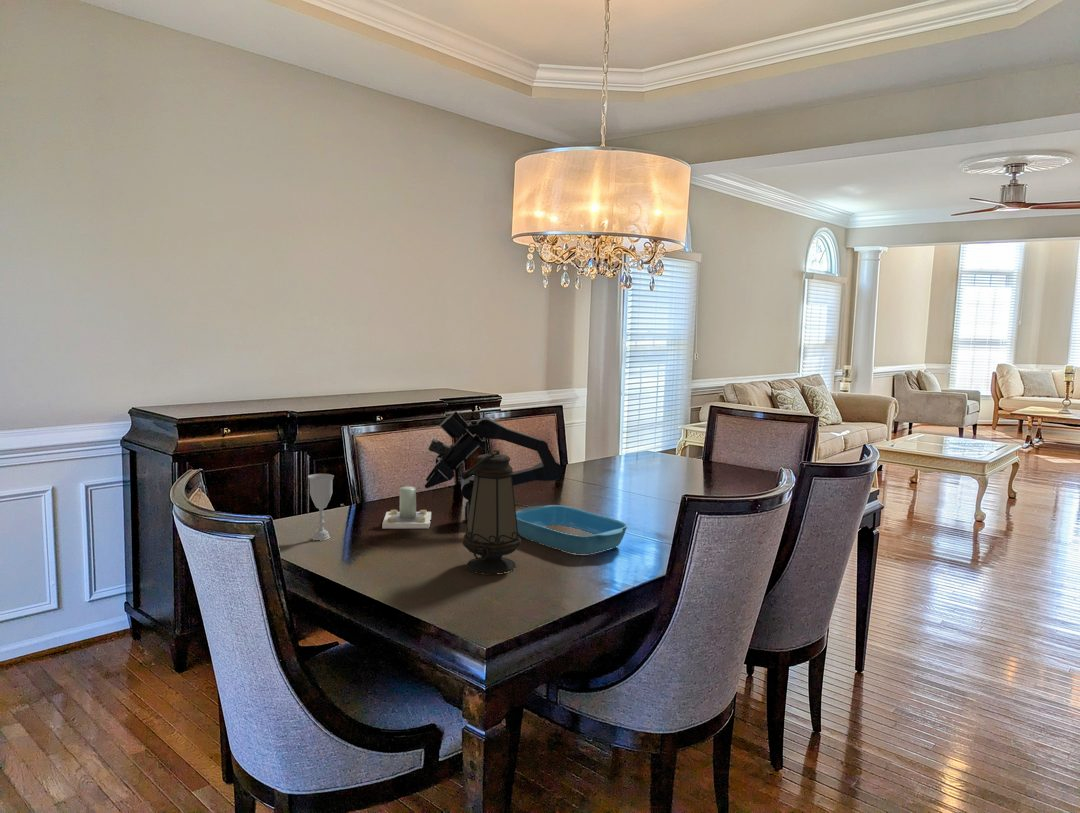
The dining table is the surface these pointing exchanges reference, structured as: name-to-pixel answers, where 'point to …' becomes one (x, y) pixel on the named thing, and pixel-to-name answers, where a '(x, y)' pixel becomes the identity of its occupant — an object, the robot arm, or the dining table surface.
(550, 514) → the casserole dish
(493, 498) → the lantern
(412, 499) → the sage green capsule
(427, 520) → the display tile
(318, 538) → the chalice
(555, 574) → the dining table surface
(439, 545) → the dining table surface
